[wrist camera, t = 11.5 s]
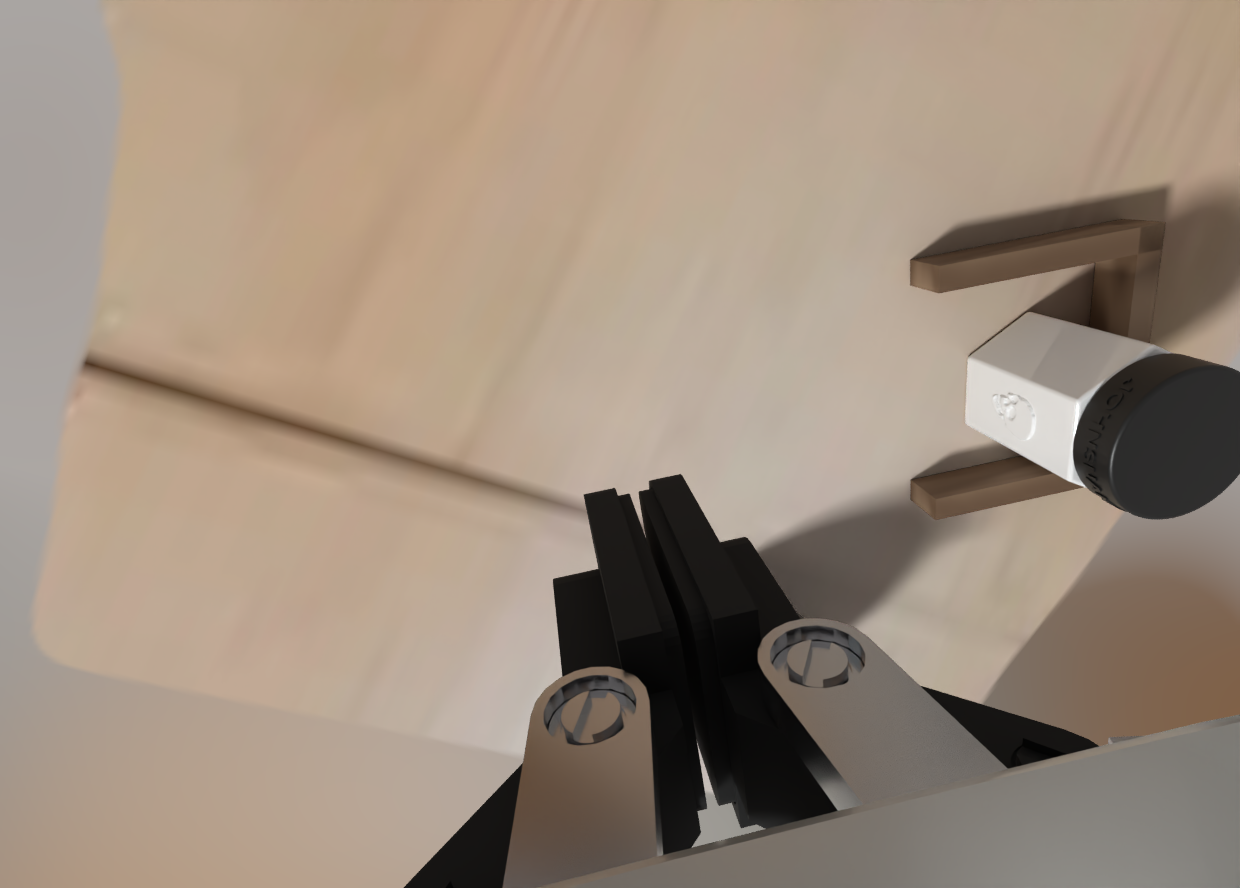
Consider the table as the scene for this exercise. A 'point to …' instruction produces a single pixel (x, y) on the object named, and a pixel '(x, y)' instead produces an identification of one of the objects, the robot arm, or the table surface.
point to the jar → (1109, 413)
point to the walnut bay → (1117, 308)
